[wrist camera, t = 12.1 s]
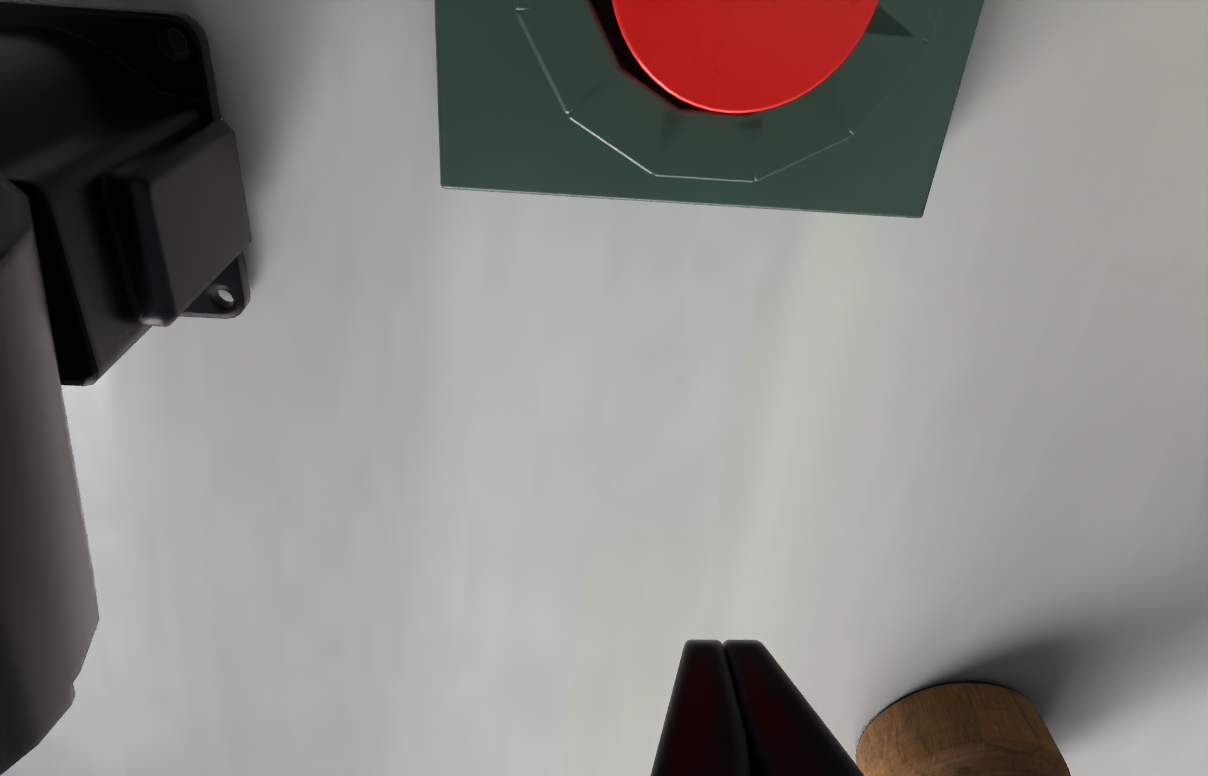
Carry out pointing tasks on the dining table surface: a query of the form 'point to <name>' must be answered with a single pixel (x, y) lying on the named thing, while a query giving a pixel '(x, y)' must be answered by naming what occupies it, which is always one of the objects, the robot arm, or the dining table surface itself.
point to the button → (741, 47)
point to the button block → (691, 113)
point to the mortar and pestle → (960, 736)
